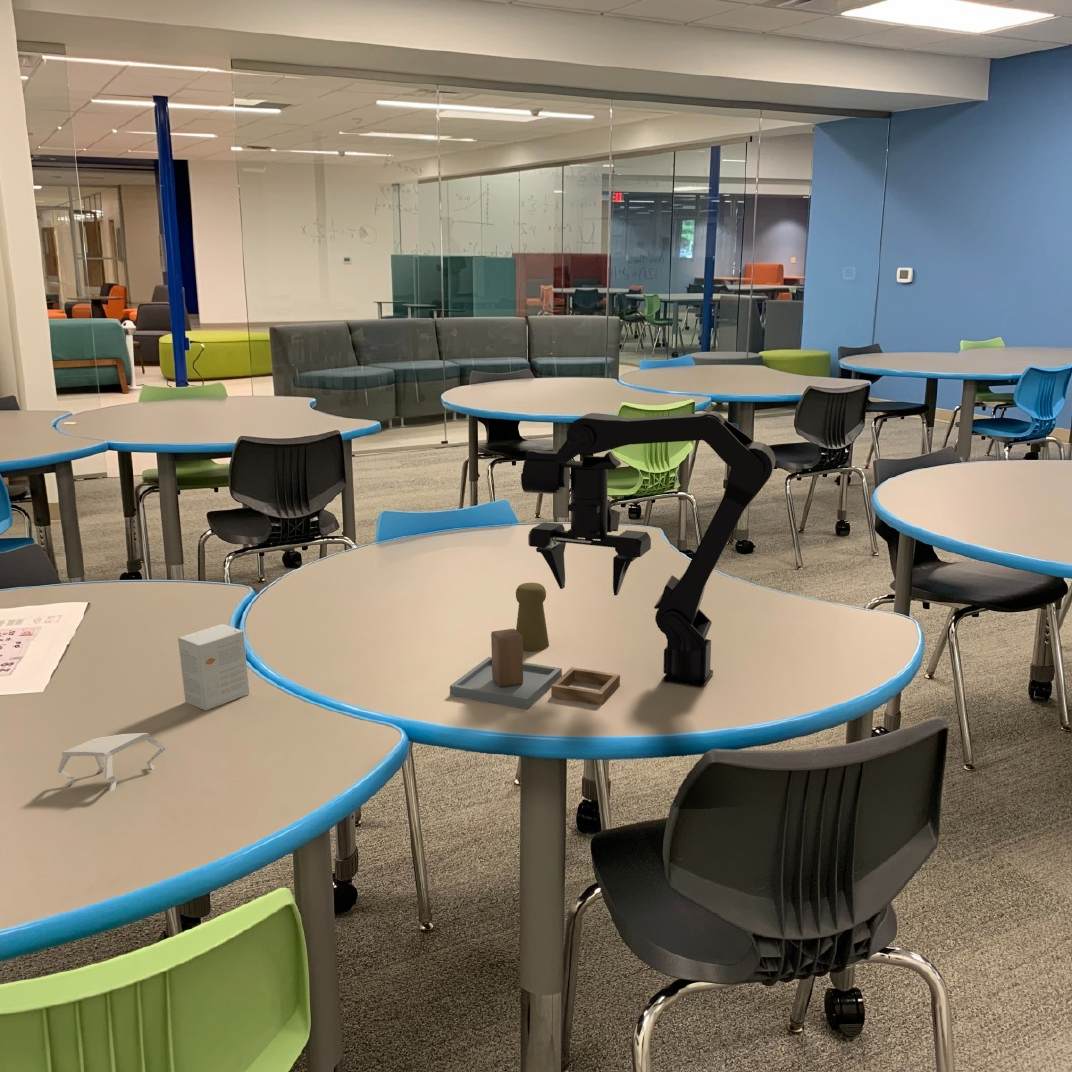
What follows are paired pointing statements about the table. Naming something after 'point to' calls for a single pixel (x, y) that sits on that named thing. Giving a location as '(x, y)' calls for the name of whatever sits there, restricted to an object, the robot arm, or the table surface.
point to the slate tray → (522, 695)
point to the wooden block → (507, 657)
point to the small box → (213, 666)
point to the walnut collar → (584, 695)
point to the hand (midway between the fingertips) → (589, 591)
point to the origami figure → (107, 752)
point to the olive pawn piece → (532, 616)
